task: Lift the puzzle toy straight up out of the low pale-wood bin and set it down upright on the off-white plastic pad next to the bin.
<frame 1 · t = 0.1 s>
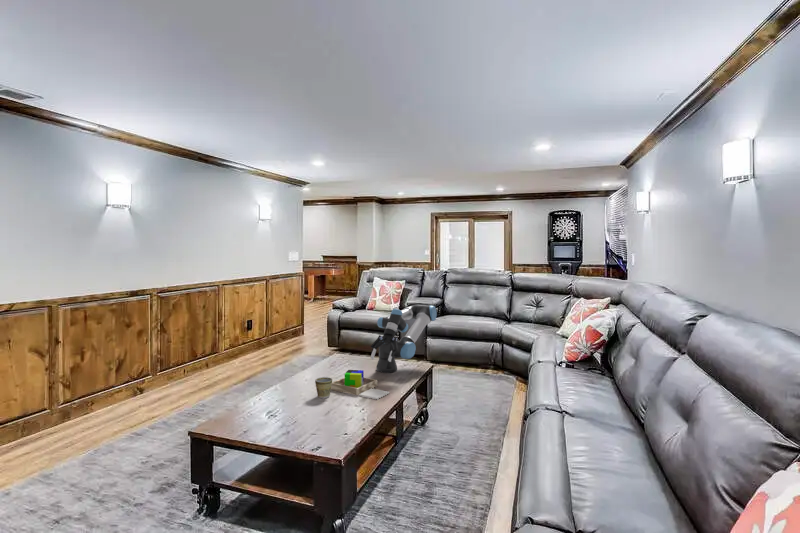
hand: (380, 359, 281), 15 cm above the table, tool tilted 35°, fingers open, 13 cm apart
bin: (354, 387, 271), on the table
puzzle toy: (354, 388, 271), resting in bin
ceramic cup: (324, 395, 256), on the table
pad: (374, 394, 258), on the table
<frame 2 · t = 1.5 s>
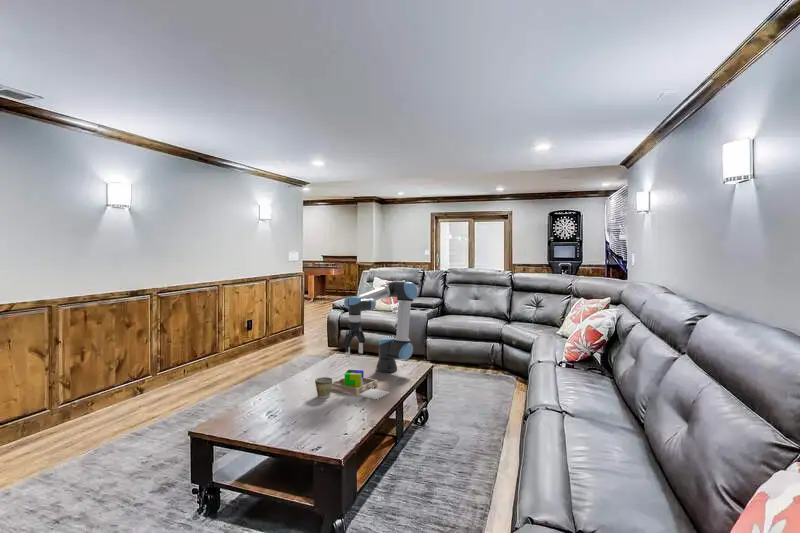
hand: (354, 355, 270), 21 cm above the table, tool pointing down, fingers open, 13 cm apart
nothing on the table moved.
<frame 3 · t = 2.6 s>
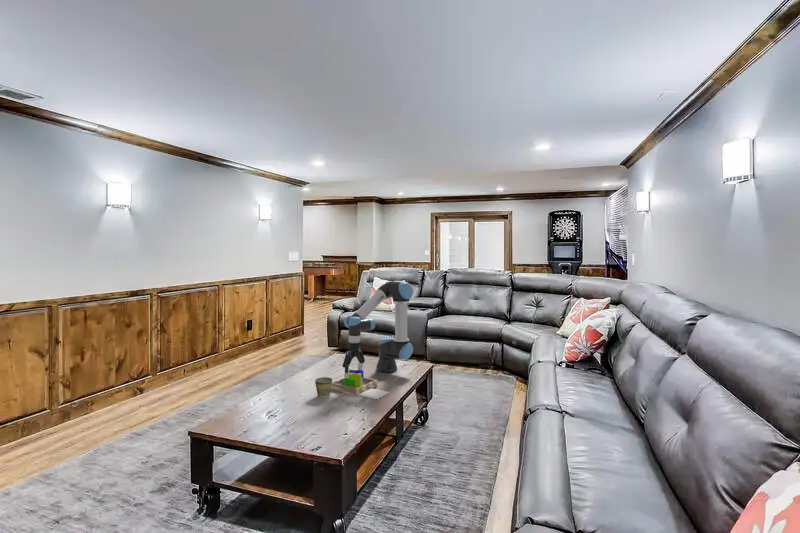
hand: (353, 375, 270), 8 cm above the table, tool pointing down, fingers open, 13 cm apart
nothing on the table moved.
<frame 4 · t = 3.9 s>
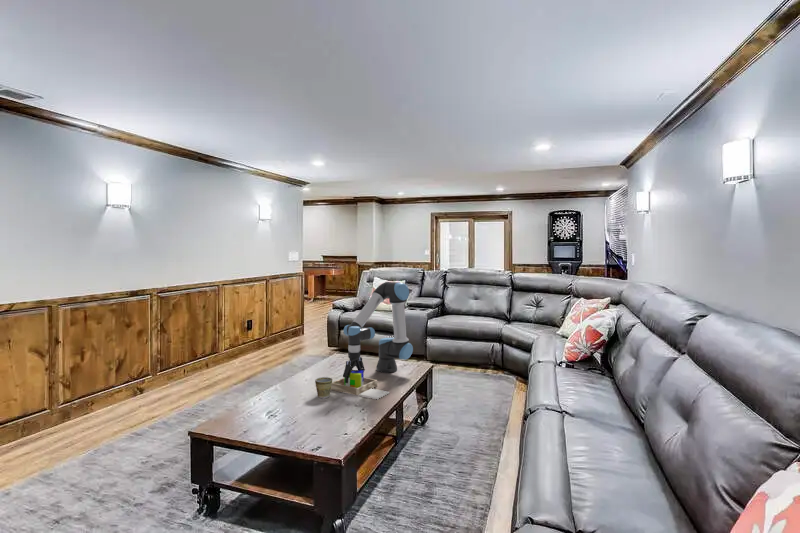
hand: (354, 385, 271), 2 cm above the table, tool pointing down, fingers closed on puzzle toy, 12 cm apart
puzzle toy: (354, 388, 271), resting in bin, touching gripper
everything else where it was.
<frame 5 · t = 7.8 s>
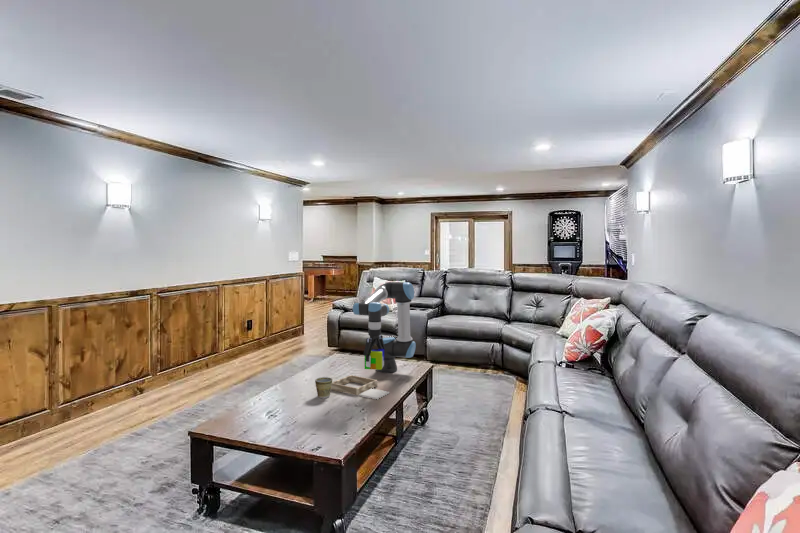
hand: (374, 364, 258), 18 cm above the table, tool pointing down, fingers closed on puzzle toy, 12 cm apart
puzzle toy: (374, 367, 258), point 16 cm above the table, touching gripper
everything else where it was.
when the fingers open (4 cm above the table, at t = 11.5 s): puzzle toy drops 1 cm, resting on pad.
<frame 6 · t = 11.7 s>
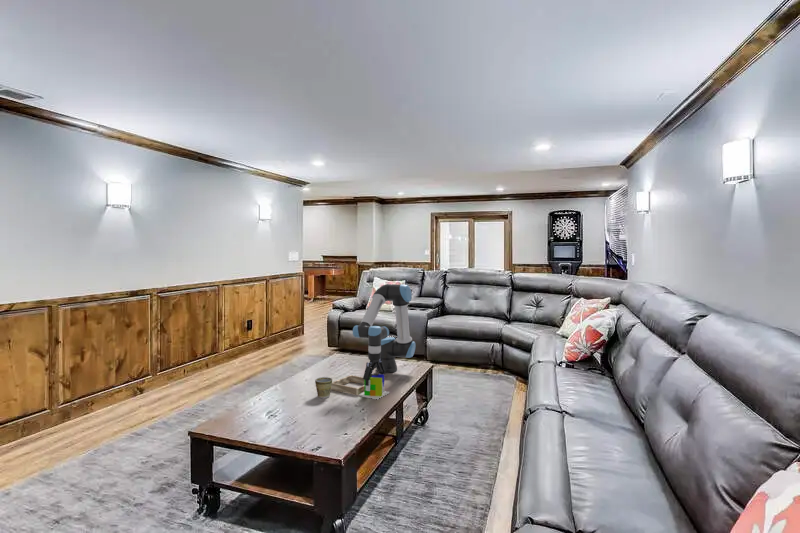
hand: (374, 387, 258), 4 cm above the table, tool pointing down, fingers open, 13 cm apart
puzzle toy: (374, 393, 258), point 1 cm above the table, touching pad
everything else where it was.
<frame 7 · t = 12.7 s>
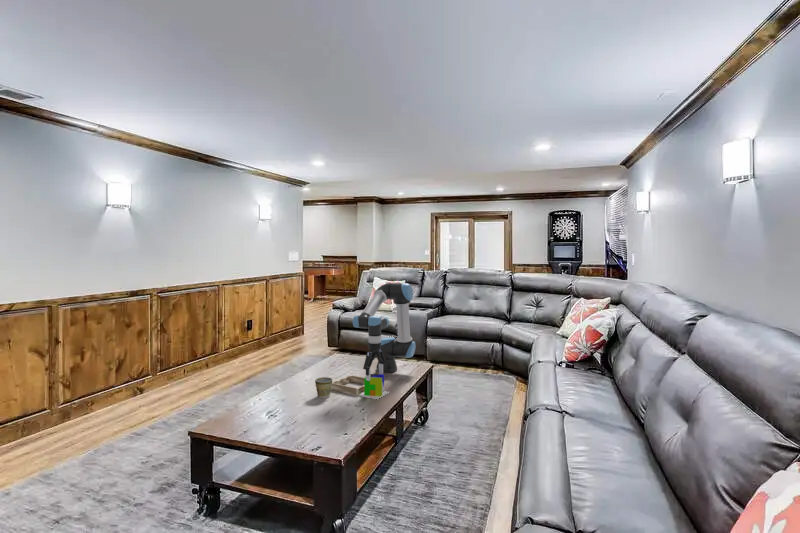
hand: (374, 377, 258), 10 cm above the table, tool pointing down, fingers open, 13 cm apart
puzzle toy: (374, 393, 258), point 1 cm above the table, touching gripper, pad
everything else where it was.
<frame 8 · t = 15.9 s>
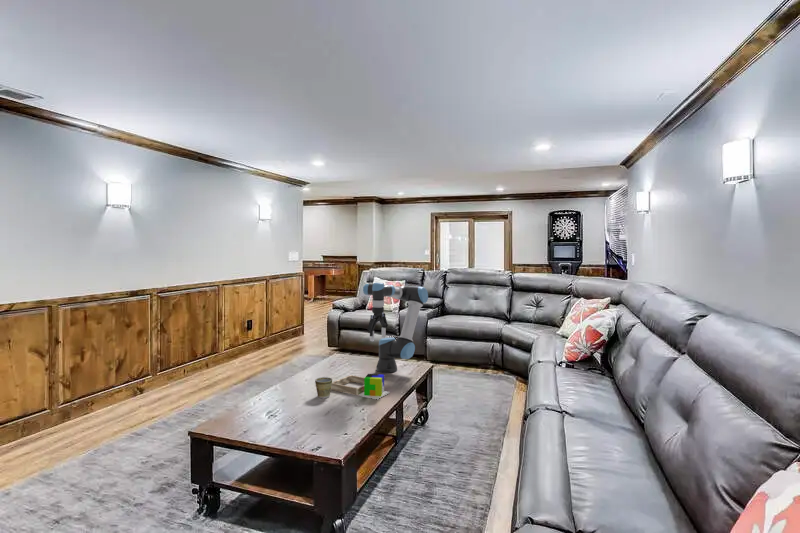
hand: (377, 339, 280), 29 cm above the table, tool pointing down, fingers open, 13 cm apart
puzzle toy: (374, 393, 258), point 1 cm above the table, touching pad
everything else where it was.
at the end: puzzle toy inside the target area on the pad (0.0 cm from its centre), point 0.8 cm above the pad's base; puzzle toy tilted 0°; the gripper is holding nothing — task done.
